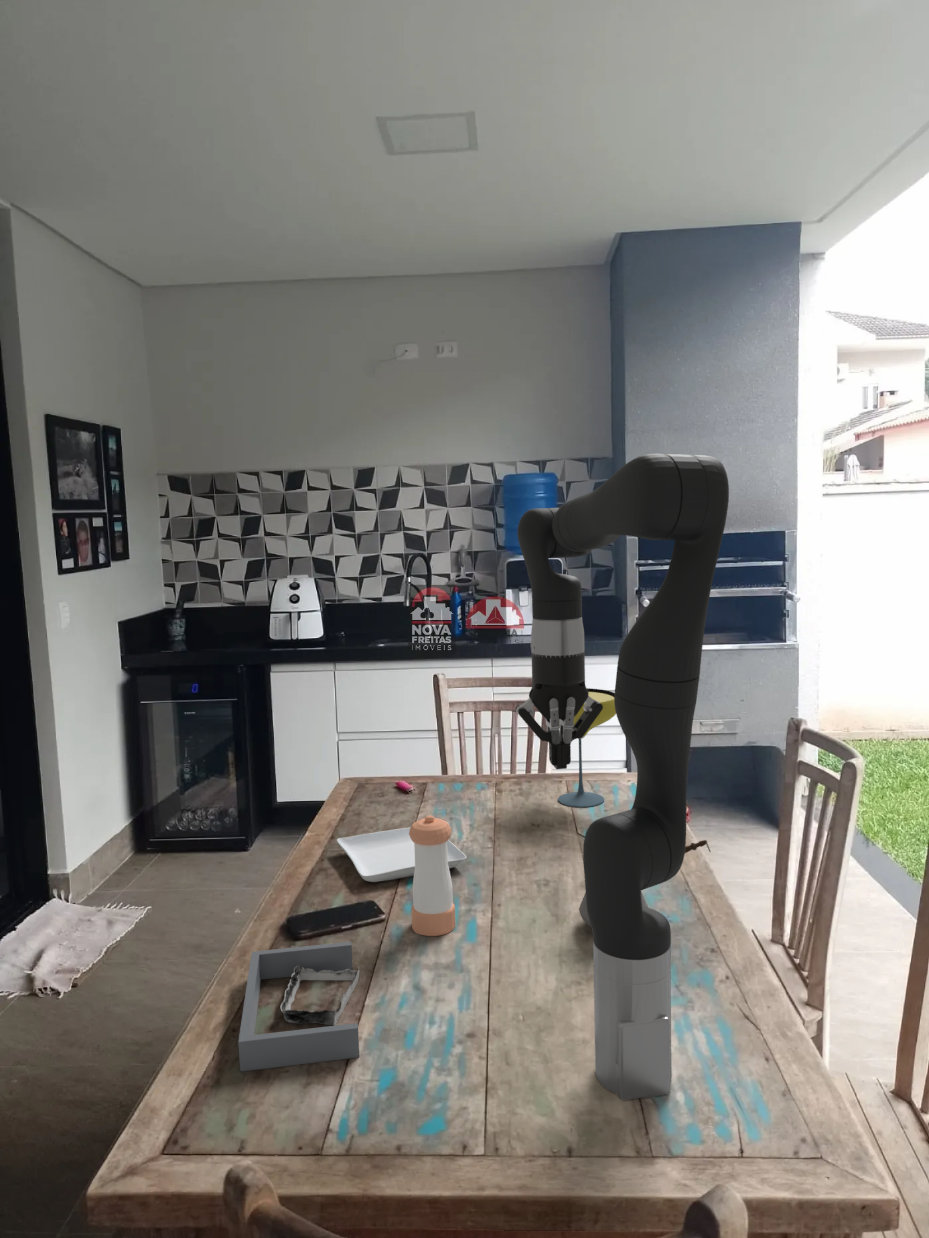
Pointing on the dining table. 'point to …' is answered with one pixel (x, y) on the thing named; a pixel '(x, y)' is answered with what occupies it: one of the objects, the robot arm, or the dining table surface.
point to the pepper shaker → (432, 878)
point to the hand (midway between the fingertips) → (560, 767)
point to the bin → (294, 1043)
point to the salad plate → (388, 854)
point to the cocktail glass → (606, 714)
